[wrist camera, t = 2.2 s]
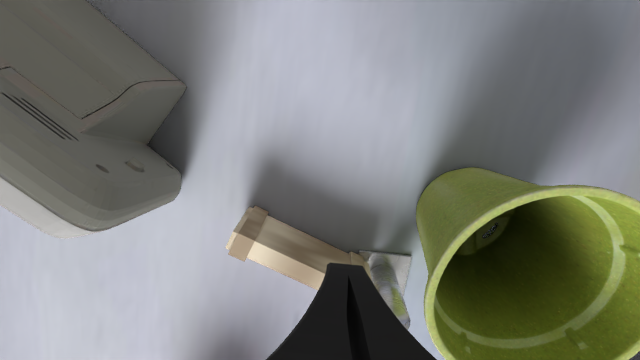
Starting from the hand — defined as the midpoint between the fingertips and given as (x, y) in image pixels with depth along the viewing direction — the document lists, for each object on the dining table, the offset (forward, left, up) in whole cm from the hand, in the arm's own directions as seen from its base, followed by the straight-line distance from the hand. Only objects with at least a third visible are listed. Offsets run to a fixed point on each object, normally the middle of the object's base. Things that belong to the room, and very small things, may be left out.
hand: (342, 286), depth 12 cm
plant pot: (-8, 0, -9) cm, 12 cm away
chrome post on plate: (-4, +6, -9) cm, 11 cm away
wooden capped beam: (+2, +3, -9) cm, 10 cm away
